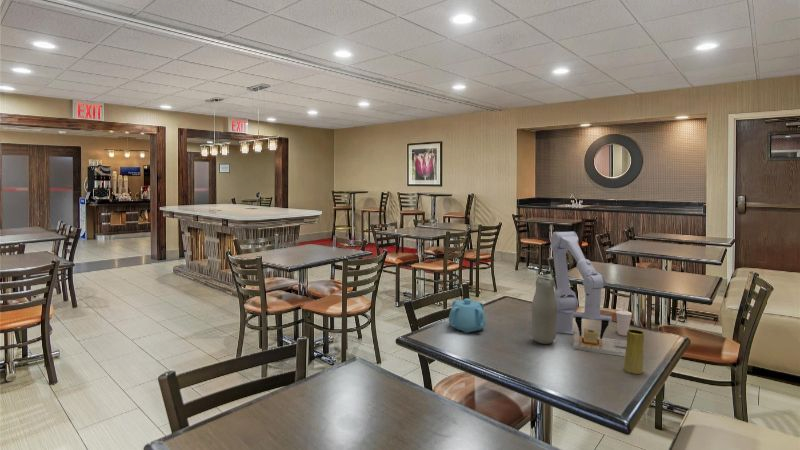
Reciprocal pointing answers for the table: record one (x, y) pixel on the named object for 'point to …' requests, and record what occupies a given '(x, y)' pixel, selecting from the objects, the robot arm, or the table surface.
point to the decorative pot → (467, 315)
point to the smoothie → (623, 321)
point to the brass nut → (590, 336)
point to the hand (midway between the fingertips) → (590, 336)
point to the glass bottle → (544, 311)
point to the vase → (634, 352)
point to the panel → (601, 345)
